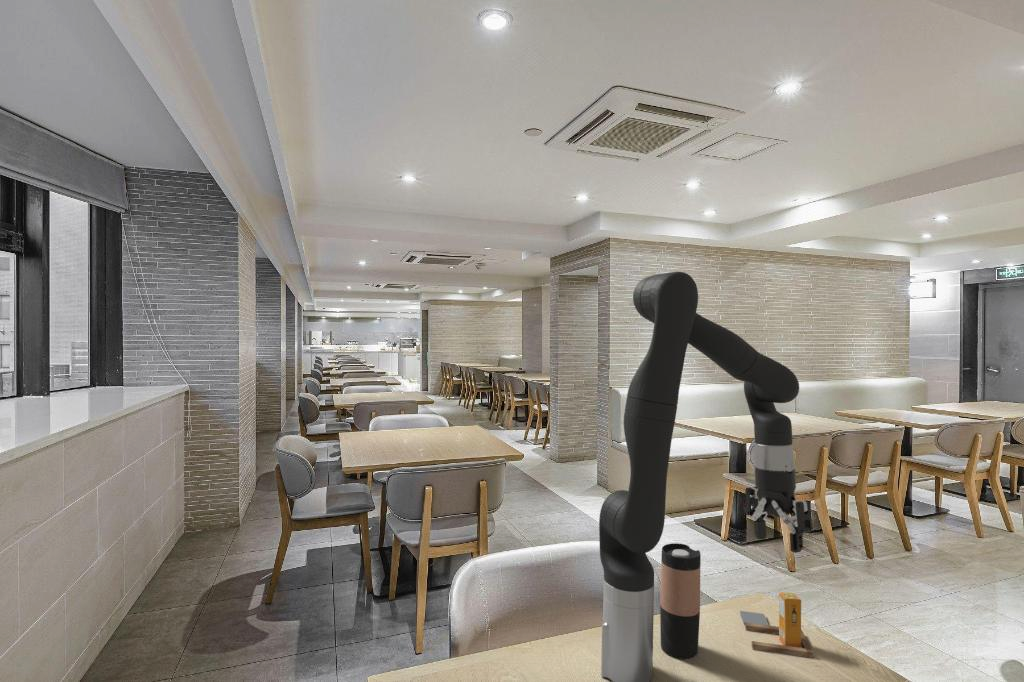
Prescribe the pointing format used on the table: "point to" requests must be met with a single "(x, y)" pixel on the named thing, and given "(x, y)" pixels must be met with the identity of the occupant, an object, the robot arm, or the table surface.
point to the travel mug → (680, 600)
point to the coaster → (753, 618)
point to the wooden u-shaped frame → (803, 651)
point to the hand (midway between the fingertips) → (778, 544)
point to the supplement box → (790, 619)
